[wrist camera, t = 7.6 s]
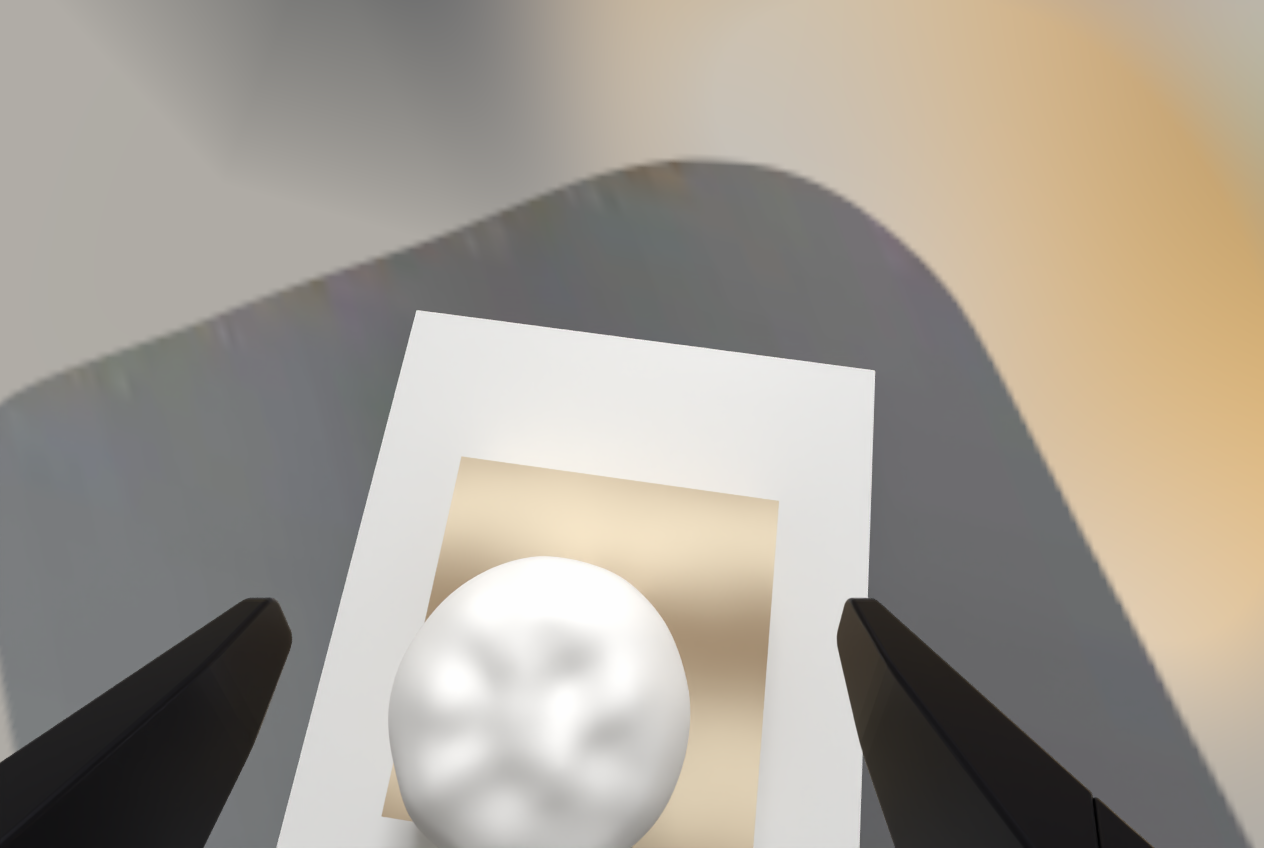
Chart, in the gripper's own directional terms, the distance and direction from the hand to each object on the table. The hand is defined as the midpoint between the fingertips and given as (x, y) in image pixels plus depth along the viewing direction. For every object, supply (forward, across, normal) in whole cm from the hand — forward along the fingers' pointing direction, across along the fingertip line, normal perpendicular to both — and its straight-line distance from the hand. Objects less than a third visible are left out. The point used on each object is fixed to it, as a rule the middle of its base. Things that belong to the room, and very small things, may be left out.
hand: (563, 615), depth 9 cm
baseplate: (+8, 0, +10) cm, 12 cm away
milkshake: (+5, 0, +7) cm, 8 cm away
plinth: (+8, 0, +10) cm, 12 cm away
